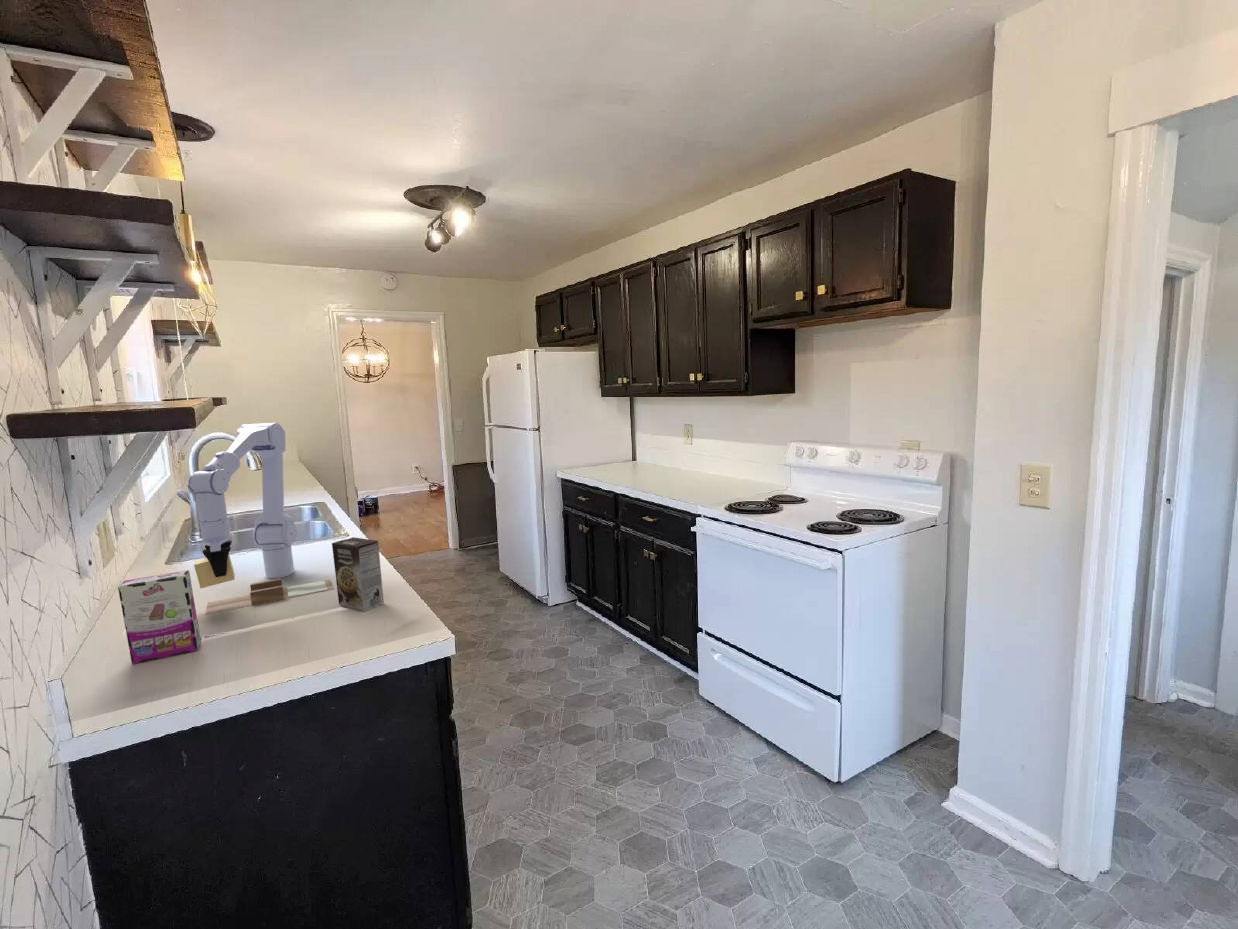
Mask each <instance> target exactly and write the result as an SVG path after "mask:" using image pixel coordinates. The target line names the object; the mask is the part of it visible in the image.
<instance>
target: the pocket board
mask: <svg viewBox="0 0 1238 929" xmlns="http://www.w3.org/2000/svg"><path fill="white" fill-rule="evenodd" d="M249 586H250V592H249V594H245V595H240V596H235V597H231V598H224V599H220V600H214V601H213V600H212V601H209V602H207V606H206V609H205V614H204V615H205V616H207V615H208V616H209V615H212V614H216V613H222V612H228V611H231V610H237V609H242V608H247V607H248V608H249V607H252V606H257V605H258V606H259V605H262V604H268V603H272V602H277V601H282V600H283V601H284V600H288V599H293V598H297V597H302V596H308V595H312V594H313V595H314V594H318V593H322V592H323V593H324V592H329V591H332V590H334V589H335V588H334V585H333V584H332V580H331V579H325V580H324V579H323V580H318V581H312V582H307V583H301V584H297V585H291V586H287V587H283V582H282V577H280V578H274V579H270V580H265V581H260V582H259V581H258V582H253V583H250V585H249Z"/></svg>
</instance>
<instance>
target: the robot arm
mask: <svg viewBox="0 0 1238 929" xmlns="http://www.w3.org/2000/svg"><path fill="white" fill-rule="evenodd" d="M250 451H251V452H252V453H253V454H257V455H258V456H259V457H260V458H261V474H262V475H261V478H262V514H261V515H259V517H257V518H256V519H255V520H254V527H253V530H252V540H253V542H254V544H255V545H256V546H258V548H259V550H261V551H262V558H263V559H262V560H263V566H264V573H263V578H267V579H280V578H285V577H288V576H291V575H293V574H294V573H295V572H297V571H296V567H295V566H294V557H293V551H292V545H293V544H294V543H295V541H296V539H297V537H298V536H297V535H298V531H297V527H296V524H295V518H294V517H293V516H291V515H289V514H288V513H287V512H285V496H284V495H285V494H284V493H285V492H284V488H285V487H284V456H283V455H284V453H285V452H286V431H285V430H284V428H283V426H282V425H281V424H280V423H278V422H270V423H250V424H249V423H243V424H241V425H240V427H239V428H238V429H237V430H236V438H235V440H234V441H233V442H232V443H231V445H230V446H229V448H228V449H227V450H226V451H220V452H219V451H218V452H217V453H215V454H214V457H213V458H212V459H211V460H210V461H209V462H208V463H207V464H206V465H205V466H204V467H203V469H202V470H200V471H195V472H193V473H192V474H191V475H190V476H189V478H188V484H187V485H186V486H187V489H188V492H189V493H190V494H191V495H192V498H193V499H192V500H193V501H194V503H196V507H197V514H198V521H199V528H200V534H201V535H200V536H201V538H197V539H196V540H195V542H196V544H203V545H204V548H205V549H202V555H203V556H204V557H205V558H207V559H208V561H209V562H210V564H211V567H212V569H213V572H214V574H215V576H216V577H221V576H226V572H227V558H228V554H229V555H230V551H231V549H232V547H231V545H232V542H233V541H232V534H231V532H230V525H229V520H228V512H227V505H226V498H225V492H227V491H228V490H229V486H230V484H229V483H230V481H231V477H232V476H233V475H234V473H236V471H238V470H239V468H240V467H241V459H242V458H243V457H244V456H245V455H247V454H248V453H249V452H250Z"/></svg>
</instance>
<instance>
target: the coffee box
mask: <svg viewBox="0 0 1238 929" xmlns="http://www.w3.org/2000/svg"><path fill="white" fill-rule="evenodd" d="M331 547H332V555H333V556H332V557H333V565H334V573H335V574H334V575H335V582H336V588H337V589H336V591H337V599H338V604H339V605H341V608H343V609H348V610H353V611H356V612H357V611H358V612H362V613H365V612H367V611H370V610H372V609H374V608H376V607H375V606H377V607H378V605H379V606H381V605H383V604H382V603H384V604H385V602H384V591H383V580H382V569H381V559H380V558H381V556H380V547H379V540H376V539H367V538H362V537H354V536H353V537H350V538H347V539H346V538H345V539H341V540H337V541H334V542H332V543H331ZM380 604H381V605H380ZM373 607H374V608H373ZM371 608H372V609H371ZM369 609H370V610H369Z"/></svg>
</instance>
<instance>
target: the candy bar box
mask: <svg viewBox="0 0 1238 929" xmlns="http://www.w3.org/2000/svg"><path fill="white" fill-rule="evenodd" d="M117 590H118V594H119V599H120V600H119V601H120V605H121V611H122V616H123V623H124V627H125V631H126V632H125V634H126V639H127V644H128V649H129V655H130V661H131V664H132V665H136V664H140V663H145V662H146V663H147V662H150V661H157V660H161V659H164V658H165V659H166V658H170V657H175V656H179V655H185V654H189V653H193V652H198V650H199V648H200V646H201V644H202V638H201V633H200V627H199V622H198V615H197V610H196V604H195V597H194V592H193V585H192V579H191V573H190V570H189V569H186V570H183V571H181V570H180V571H175V572H168V573H162V574H156V575H150V576H145V577H138V578H132V579H125V580H123V582H122V583H121V584H120V585H118V587H117Z"/></svg>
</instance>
